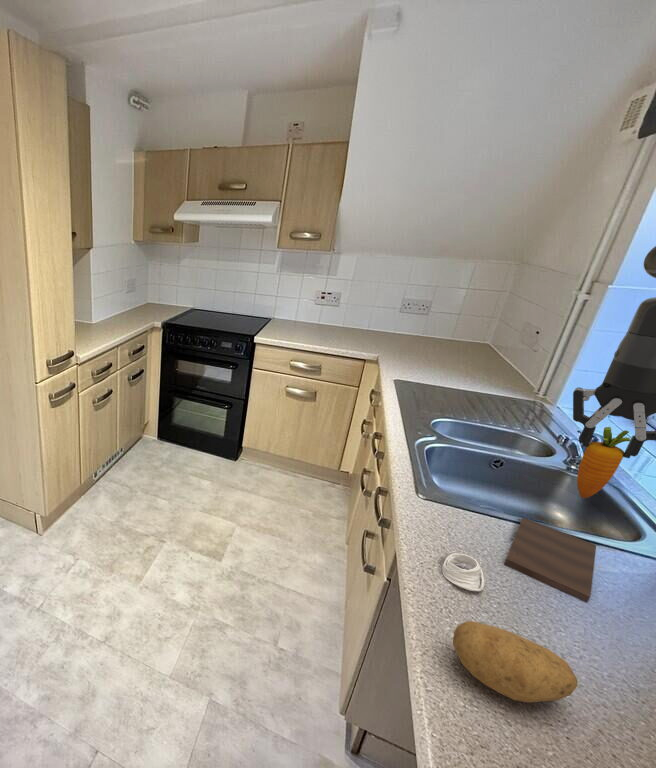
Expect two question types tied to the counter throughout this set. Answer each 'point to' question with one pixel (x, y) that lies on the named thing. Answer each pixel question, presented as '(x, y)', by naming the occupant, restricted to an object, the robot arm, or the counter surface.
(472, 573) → the white string coil
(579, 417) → the robot arm
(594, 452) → the carrot
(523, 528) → the cutting board
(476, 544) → the counter surface
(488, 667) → the potato
